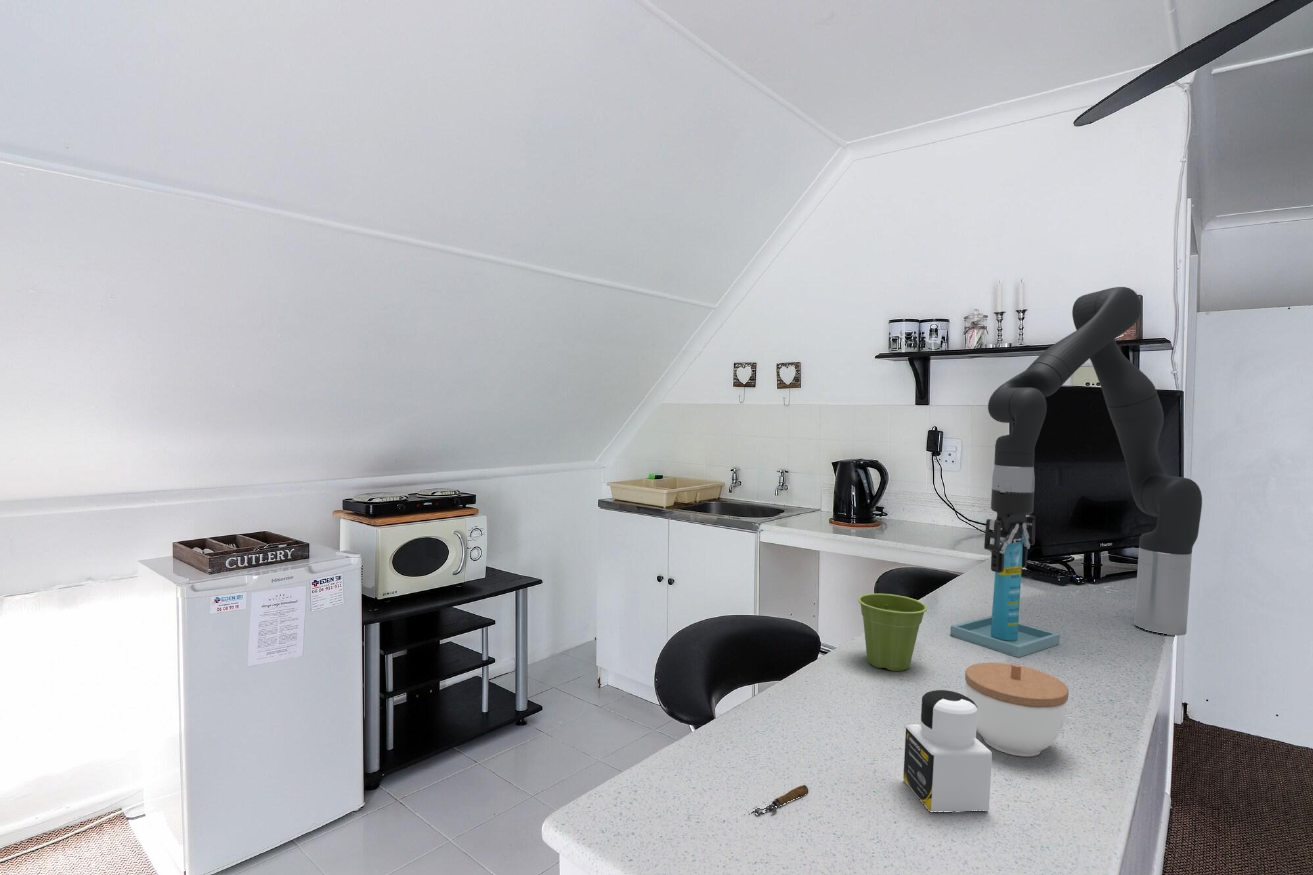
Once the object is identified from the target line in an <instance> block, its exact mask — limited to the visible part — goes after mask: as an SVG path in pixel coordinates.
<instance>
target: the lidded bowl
mask: <svg viewBox="0 0 1313 875" xmlns="http://www.w3.org/2000/svg"><path fill="white" fill-rule="evenodd" d="M964 679H965V696H966V697H968V698H970V699H971V700H972V701H974V703H975V704H976V705H977V708H978V709H977V727H976V732H978V733H979V734H980V736H981V737H982V739H983V741H984V743H985V744H986V745H987V746H988V747H990V746H991V748H992V749H994V750H996V751H998V752H1001V753H1003V752H1004V754H1008V755H1010V754H1011V755H1010V756H1016V757H1024V758H1028V757H1029V758H1030V757H1037V756H1039V755H1041V753H1042V751H1043V750H1044V751H1045V749H1047V748H1049V747H1050V746H1051V745H1053V744H1054V743H1055V742H1056V740H1057V739H1058V738H1059V736H1060V734H1061V732H1062V730H1063V727H1064V723H1065V721H1066V720H1065V719H1066V714H1067V702H1068V699H1069V689H1068V687H1067V685H1066V684H1065V683H1064V682H1063V681H1061V680H1060V679H1058V677H1055V676H1053V675H1050V674H1048V673H1046V672H1043V671H1041V670H1038V669H1036V668H1035V669H1034V668H1031V667H1027V666H1023V665H1020V664H1018V663H1005V662H980V663H979V662H978V663H975V664H971V665H970V666H968V667H967V668H966V669H965V673H964Z"/></svg>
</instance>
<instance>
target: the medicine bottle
mask: <svg viewBox="0 0 1313 875" xmlns="http://www.w3.org/2000/svg"><path fill="white" fill-rule="evenodd" d="M921 697H922V698H921V706H920V707H921V708H920V713H921V714H920V724H916V723H915V724H914V723H913V724H911V723H910V724H907V725H906V726H905V735H904V736H905V740H904V755H903V756H904V759H903V782H905V783H906V785H907V786H908V787H909V788H910V790H911V791H912V793H914V795H915V796H916V797H917V798H918V800H919V799H920V800H919V801H920V802H921V803H922V805H923V804H924V805H923V806H924V807H925V808H926V809H928V810H927V811H928V812H929V811H933V812H934V811H937V812H938V811H943V812H944V811H972V810H973V811H974V810H975V811H976V810H977V811H980V810H981V811H983V810H984V811H985V810H986V811H987V812H989V810H990V799H991V798H990V796H991V794H990V793H991V776H992V760H993V759H992V758H993V753H992V751H991V750H990V749H988V747H987V746H985V745H984V744H983V743H982V742H981V741H980V740H979V739H977V730H976V727H977V709H978V708H977V705H976V704H975V703H974V701H972V700H971V699H970V698H968V697H966V695H965V694H962V693H960V692H956V691H952V690H947V689H946V690H945V689H937V690H930V691H928V692H926V693H924V694H923V695H922V696H921Z"/></svg>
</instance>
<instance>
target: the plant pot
mask: <svg viewBox="0 0 1313 875" xmlns="http://www.w3.org/2000/svg"><path fill="white" fill-rule="evenodd" d="M857 601H858V603H859V604H860V609H861V611H860V612H861V615H862V619H863V629H864V640H865V652H866V660H867V662H868V663H869V664H870V665H872V666H873V667H875V668H876V669H877V668H878V669H882V668H884V669H887V670H889V671H892V672H898V671H899V672H900V671H906V670H908V669H909V667H910V665H911V662H912V658H913V653H914V650H915V646H916V641H917V638H918V633H919V629H920V625H921V624H922V622H923V618H924V616H925V612H927V611H928V609H929V607H928V606H927V604H925V603H924V602H922V601H920V600H918V599H914V598H911V597H908V596H902V595H899V594H898V595H897V594H891V593H866V594H862V595H860V596H858V597H857Z"/></svg>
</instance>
